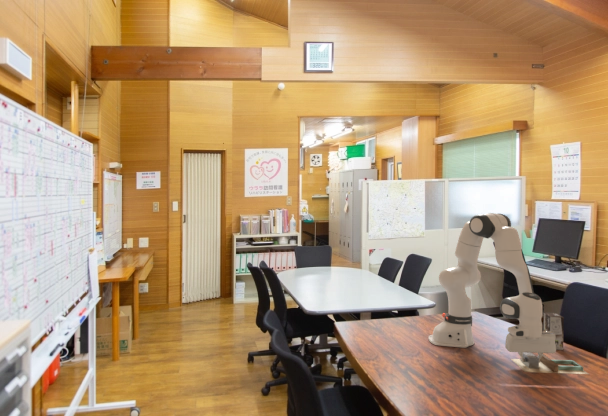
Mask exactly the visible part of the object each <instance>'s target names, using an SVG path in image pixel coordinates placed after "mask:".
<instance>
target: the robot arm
mask: <svg viewBox="0 0 608 416" xmlns="http://www.w3.org/2000/svg"><path fill="white" fill-rule="evenodd" d="M458 236H459V237H458V239H457V243H456V248H455V252H454V255H455V256H456V258H457V261H458V263H457V266H453V267H452V266H451V267H448V268H445V269H443V270H441V271H440V273H439V276H438V282H439V284H440V286H441V287H442V288H444V290H445V292H446V296H447V299H448V300H447V301H448V313H445V312H443V313H442V314H441V316H442V317H443V318H444V320H443V321H442V322H440V323H439V324H437V325H436V326H434V328H433V331H432V334H429V335H428V337H427V338H428V341H429V343H431V344H433V345H435V346H442V347H455V348H463V349H466V348H468V347H471V346H473V345H475V340H474V336H473V330H472V329H473V328H472V327H473V315H472V300H471V298H470V297H469V296H468V295H467V293H466V288H469V287H473V286H475V285H477V284H479V282H481V279H482V273H481V271H480V270H479V268H478V261H479V260H478V259H479V254H480V251H481V248H482V244H483V240H484V239H490V238H491V239H492V240H493V242H494V250H495V261H496V263H497V264H498V265H499V266H500V267H501V268H502V270H503V269H504V270H505V271H508V272H510V273H512V274H513V275H514V277H515V279H516V283H517V288H518V293H519V294H518V295H516V296H510V297H504V298H503V299H502V300H501V301H500V304H499V310H500V313H501V314H502V316H503V317H505V318H506V319H511V320H518V321H519V324H516V325H514V326H510V327H508V328H507V332H508V333H507V334H506V336H505V349H506V350H507V351H508V352H509V353H518V356H519V357H520V359H521V362H526V361H525V360H526V358H524V357H523V356H522V355H523V352H526V353H533V354H538V355H536V357H538V358H539V363H540V359H541V357H542V356H543V354H555V353H556V352H557V349H556V344H555V339H556V336H555V334H554V333H553V332H551V331H544V330H543V322H542V318H543V301H542V299H541V297H540V296H539V295H538V294H536V293H535V292H534V287H533V283H532V278H531V274H530V270H529V266H528V264H527V263H526V262H525V259H524V257H523V252H522V245H521V238H520V236H519V233H518V230H517V229H516V228H515V227H512V221H511V220H510V218H509V217H508V216H507V215H505V214H504V213H503V214H502V213H494V212H492V213H491V212H488V213H479V214H475V215H474V216H472V217H470V220H468V221H466V222H465V223H464V225H463V227H462V229H461V231H460V235H458ZM552 333H553V334H552Z"/></svg>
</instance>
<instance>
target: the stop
mask: <svg viewBox="0 0 608 416" xmlns="http://www.w3.org/2000/svg"><path fill="white" fill-rule="evenodd" d="M522 356H523V357H524V358H526V360H525V361H526V362H522V363H523V364H525V365H526V366H527V367H528V368H530V369H539V358H538V357H537V355H535V353H526V352H523V355H522Z"/></svg>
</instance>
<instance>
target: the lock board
mask: <svg viewBox="0 0 608 416" xmlns="http://www.w3.org/2000/svg"><path fill="white" fill-rule="evenodd" d="M510 360H511V361H512V362H513V363H514V364H515V365H516V366H518V367H519V368H520V370H522V371H523V372H524V373H538V374H539V373H543V374H545V373H547V374H568V375H569V374H572V375H573V374H575V375H589V373H588V372H587V371H585V370H584V367H583V366H582V365H580V363H578V362H576V361H575V360H572V359H551V358H550V357H548V356H547V355H545V353H543V356H542V357H541V359H540V363H539V369H530V368H528V367H527V366H526V365H525V364H523V363H522V362H521V358H510Z"/></svg>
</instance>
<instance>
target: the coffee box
mask: <svg viewBox="0 0 608 416" xmlns="http://www.w3.org/2000/svg"><path fill="white" fill-rule="evenodd" d="M564 321H565V317H564V316H562V315H560V314H559V313H557V312H543V331H551V332H553V333H554V334H555V336H556V339H555V344H556V351H557V350H559V351H564V323H565V322H564ZM553 333H552V334H553Z"/></svg>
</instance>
